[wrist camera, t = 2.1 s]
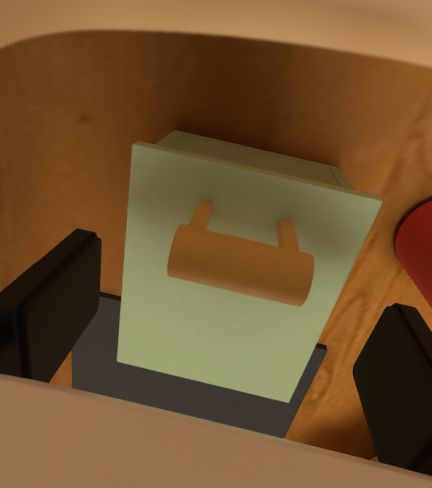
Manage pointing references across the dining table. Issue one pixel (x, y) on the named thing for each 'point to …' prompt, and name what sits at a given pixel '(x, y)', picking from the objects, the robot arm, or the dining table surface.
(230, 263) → the lid
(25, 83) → the dining table surface
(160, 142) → the chest
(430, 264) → the beer can
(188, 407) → the felt mat
